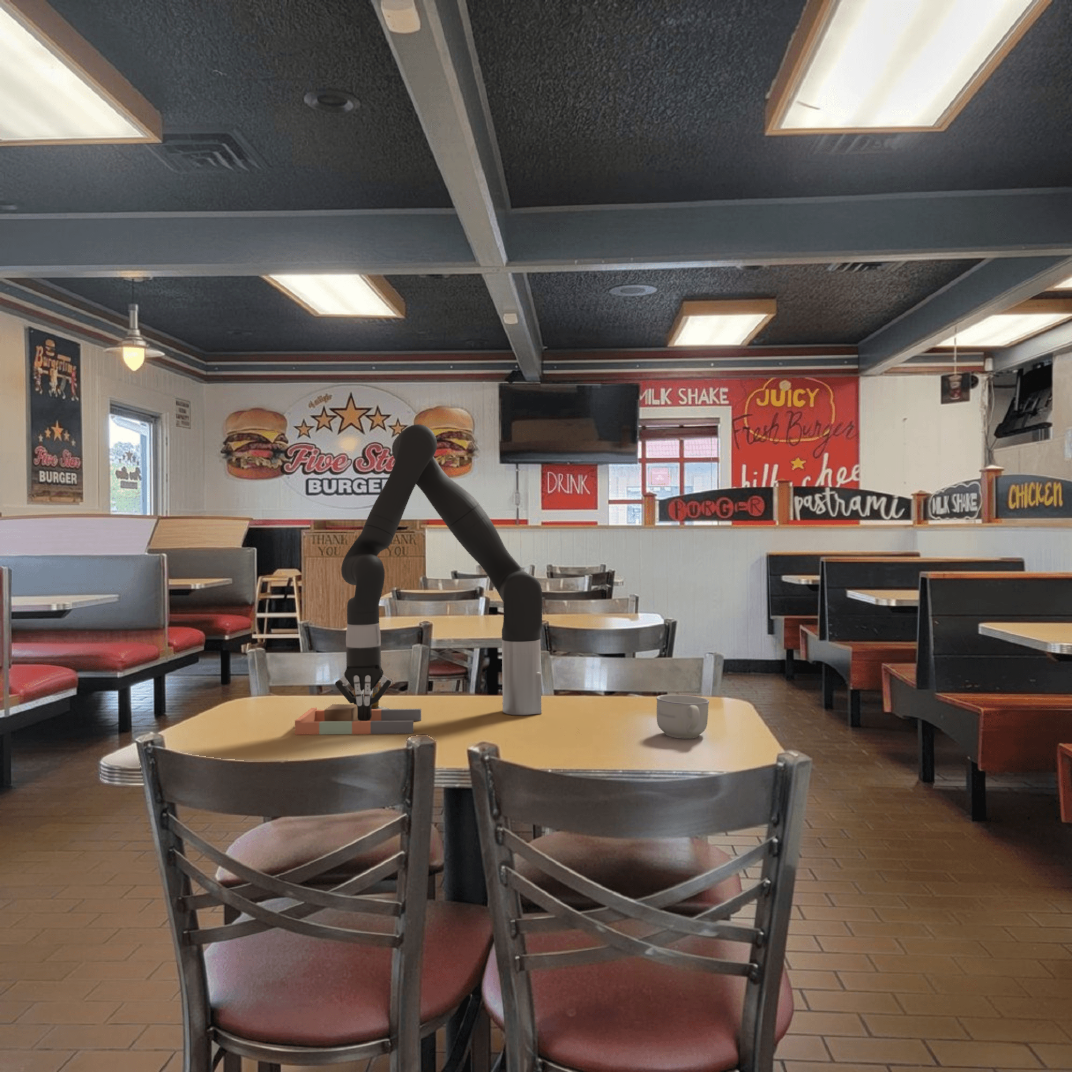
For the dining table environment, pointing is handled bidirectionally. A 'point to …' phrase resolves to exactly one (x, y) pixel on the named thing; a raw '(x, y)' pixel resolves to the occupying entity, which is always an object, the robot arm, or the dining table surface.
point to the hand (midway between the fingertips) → (364, 721)
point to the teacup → (682, 715)
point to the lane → (359, 723)
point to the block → (341, 712)
